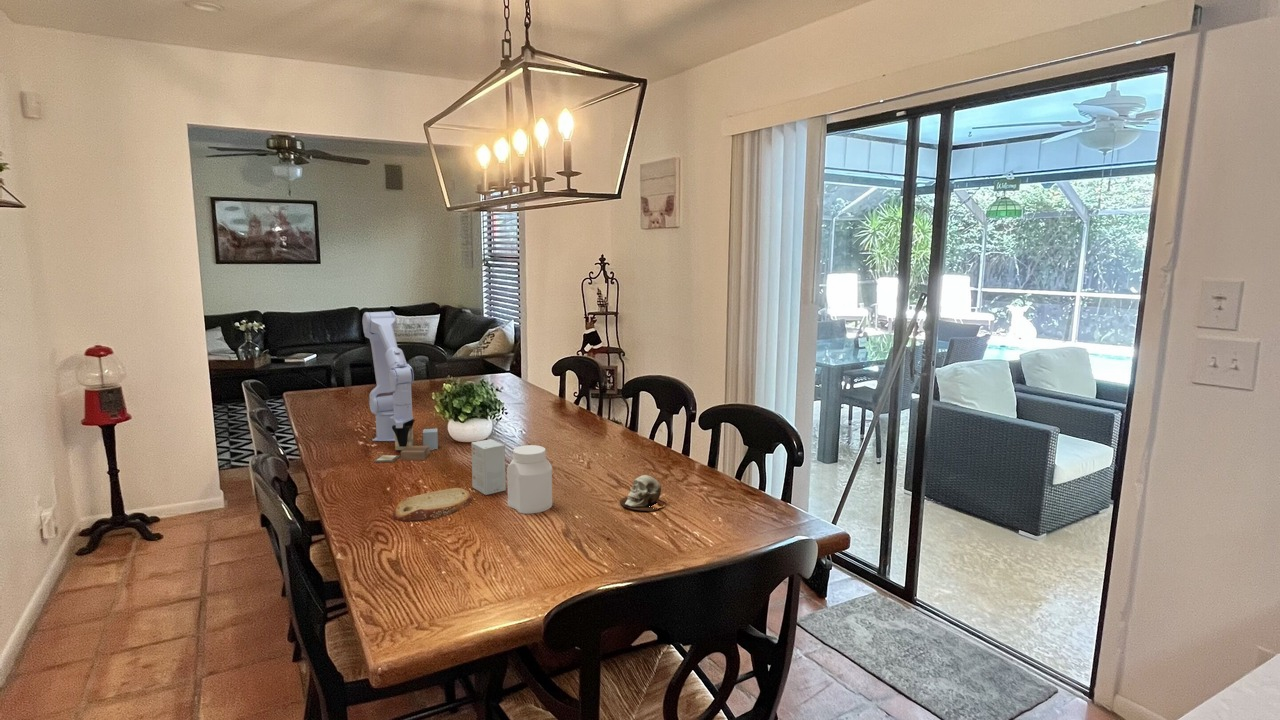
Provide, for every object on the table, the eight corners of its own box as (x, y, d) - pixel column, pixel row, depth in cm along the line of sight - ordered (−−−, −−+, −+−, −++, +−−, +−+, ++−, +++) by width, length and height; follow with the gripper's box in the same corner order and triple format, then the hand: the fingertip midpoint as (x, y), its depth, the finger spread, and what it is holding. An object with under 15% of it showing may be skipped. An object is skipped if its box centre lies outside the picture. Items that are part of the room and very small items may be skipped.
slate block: (423, 446, 227) (423, 429, 226) (437, 445, 228) (437, 428, 227) (423, 450, 223) (422, 432, 222) (437, 449, 224) (437, 431, 223)
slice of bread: (473, 495, 184) (473, 481, 183) (465, 521, 166) (464, 506, 166) (405, 497, 182) (404, 483, 181) (389, 523, 164) (388, 509, 164)
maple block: (399, 446, 225) (399, 428, 225) (413, 446, 226) (412, 428, 225) (395, 450, 221) (394, 432, 220) (409, 450, 221) (408, 432, 220)
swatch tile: (380, 456, 215) (380, 454, 215) (399, 456, 215) (399, 454, 215) (373, 462, 209) (373, 460, 209) (393, 462, 210) (393, 460, 209)
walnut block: (408, 454, 219) (407, 445, 219) (429, 454, 219) (429, 445, 219) (400, 461, 212) (400, 452, 212) (423, 461, 212) (423, 452, 212)
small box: (506, 490, 187) (505, 444, 184) (485, 495, 183) (484, 449, 180) (492, 482, 193) (491, 438, 191) (471, 487, 189) (470, 442, 187)
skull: (639, 513, 169) (623, 477, 173) (623, 529, 176) (608, 494, 181) (677, 502, 176) (661, 467, 180) (659, 518, 183) (644, 484, 187)
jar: (502, 503, 177) (501, 447, 175) (534, 495, 183) (533, 441, 181) (525, 516, 169) (524, 458, 166) (557, 507, 175) (557, 451, 172)
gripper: (394, 399, 227) (396, 438, 230) (385, 409, 213) (387, 450, 215) (416, 398, 228) (417, 437, 231) (408, 408, 214) (410, 450, 216)
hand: (404, 443), depth 223 cm, fingers closed on maple block, 5 cm apart
